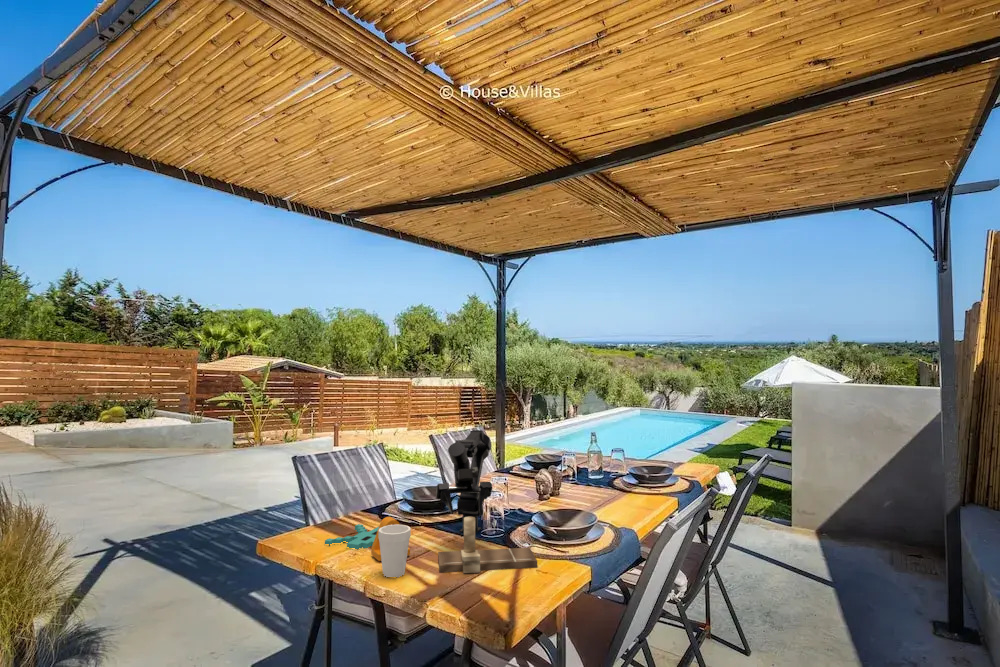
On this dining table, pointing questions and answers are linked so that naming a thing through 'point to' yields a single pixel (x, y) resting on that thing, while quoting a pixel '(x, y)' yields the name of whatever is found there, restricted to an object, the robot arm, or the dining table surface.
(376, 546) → the bracket
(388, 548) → the foam cup
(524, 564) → the walnut board
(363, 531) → the alien figure
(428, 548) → the dining table surface
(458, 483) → the robot arm
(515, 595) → the dining table surface
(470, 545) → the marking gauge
